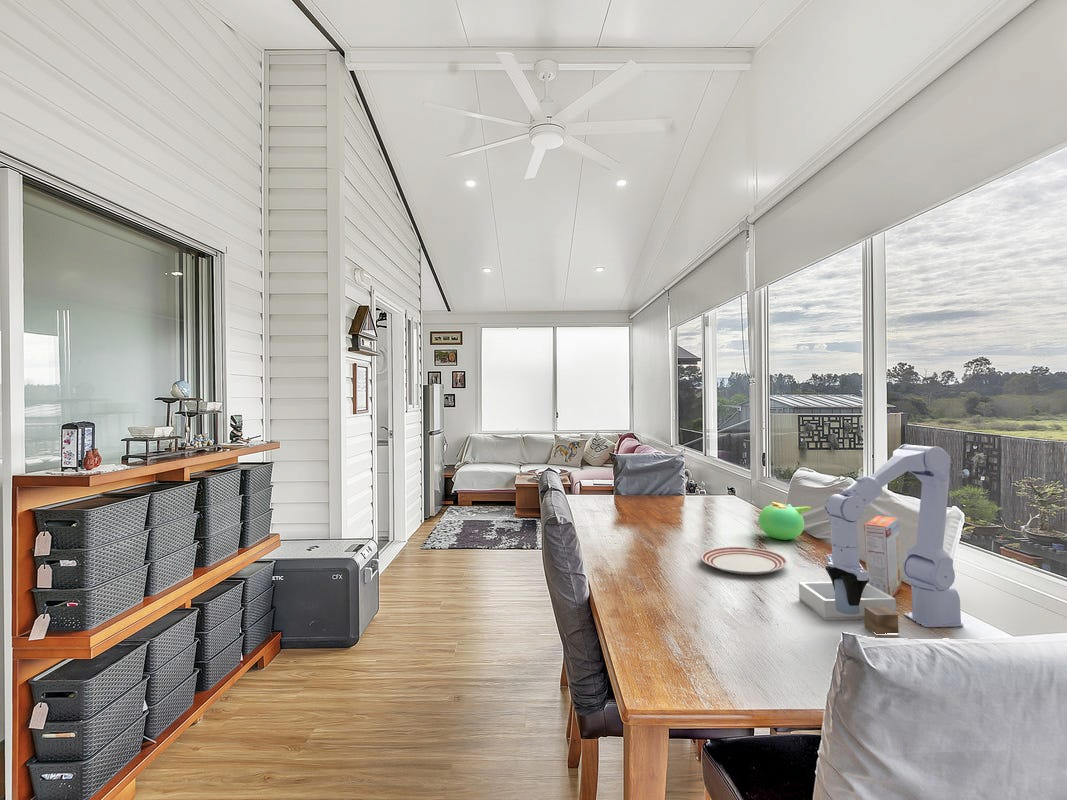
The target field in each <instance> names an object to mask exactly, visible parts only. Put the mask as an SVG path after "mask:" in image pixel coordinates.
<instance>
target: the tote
mask: <svg viewBox="0 0 1067 800" xmlns="http://www.w3.org/2000/svg"><path fill="white" fill-rule="evenodd" d="M798 596H799V599H798V600H799V601H800V602H801V603H802V604H803V603H804V605H805V606H806V607H807V608H808V609H809V610H811V611H812V612H814V613H815V614H816V615H817V616H819V617H820V618H821V619H822V620H824V621H850V620H851V621H852V620H855V621H856V620H857V619H860V620H865V611H864V607H886V608H888V609H890V610H891V611H893V612H894V613H896V614H897V599H896V598H895V597H891V596H890V595H888V594H886V593H884V592H883V591H881V590H879V589H877V588H875V587H874V586H872V585H870V584H868V583H867V584H866V586H865V588H864V590H863V592H862V596H861V600H860V603H859V613H858V614H844V613H840V612H838V611H837V610H836V604H835V590H834V587H833V584H832V581H808V582H807V581H806V582H805V581H804V582H798Z"/></svg>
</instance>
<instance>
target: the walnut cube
mask: <svg viewBox="0 0 1067 800" xmlns="http://www.w3.org/2000/svg"><path fill="white" fill-rule="evenodd" d="M864 611H865V619H864V627H865V629H867V630H868V629H869V630H868V631H870V630H871V631H873V632H875V633H876V634H885V633H886V634H887V633H900V632H899V614H898V613H897V612H896V613H894V612H893V611H891V610H890V609H888V608H886V607H864ZM871 631H870V632H871ZM873 632H872V633H873Z"/></svg>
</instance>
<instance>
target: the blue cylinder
mask: <svg viewBox="0 0 1067 800" xmlns="http://www.w3.org/2000/svg"><path fill="white" fill-rule="evenodd" d="M834 584H835V604H836V610H837V611H838V612H840V613H844V614H858V613H859V606H850V605H849V603H848V600H847V593H846V588H845V585H844V583H843V581H842V579H841V578H838V579H835V580H834Z"/></svg>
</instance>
